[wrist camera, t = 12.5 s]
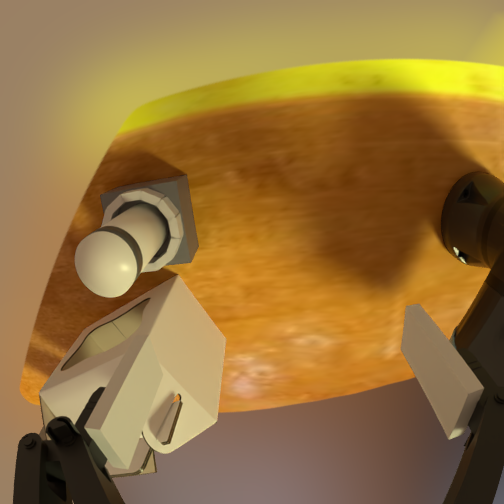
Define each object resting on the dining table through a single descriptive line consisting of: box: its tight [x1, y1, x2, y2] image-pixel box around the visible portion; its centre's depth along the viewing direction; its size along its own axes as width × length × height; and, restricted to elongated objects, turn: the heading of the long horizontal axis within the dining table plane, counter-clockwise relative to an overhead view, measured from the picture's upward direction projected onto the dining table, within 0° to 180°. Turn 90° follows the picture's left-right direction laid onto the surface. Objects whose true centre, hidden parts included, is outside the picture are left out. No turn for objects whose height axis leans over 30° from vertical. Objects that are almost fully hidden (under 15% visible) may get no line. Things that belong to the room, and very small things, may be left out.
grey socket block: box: [100, 175, 199, 272], centre depth 39 cm, size 10×10×8 cm
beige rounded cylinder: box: [75, 204, 168, 298], centre depth 31 cm, size 6×6×12 cm
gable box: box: [39, 275, 226, 478], centre depth 36 cm, size 22×13×28 cm, turn 120°
